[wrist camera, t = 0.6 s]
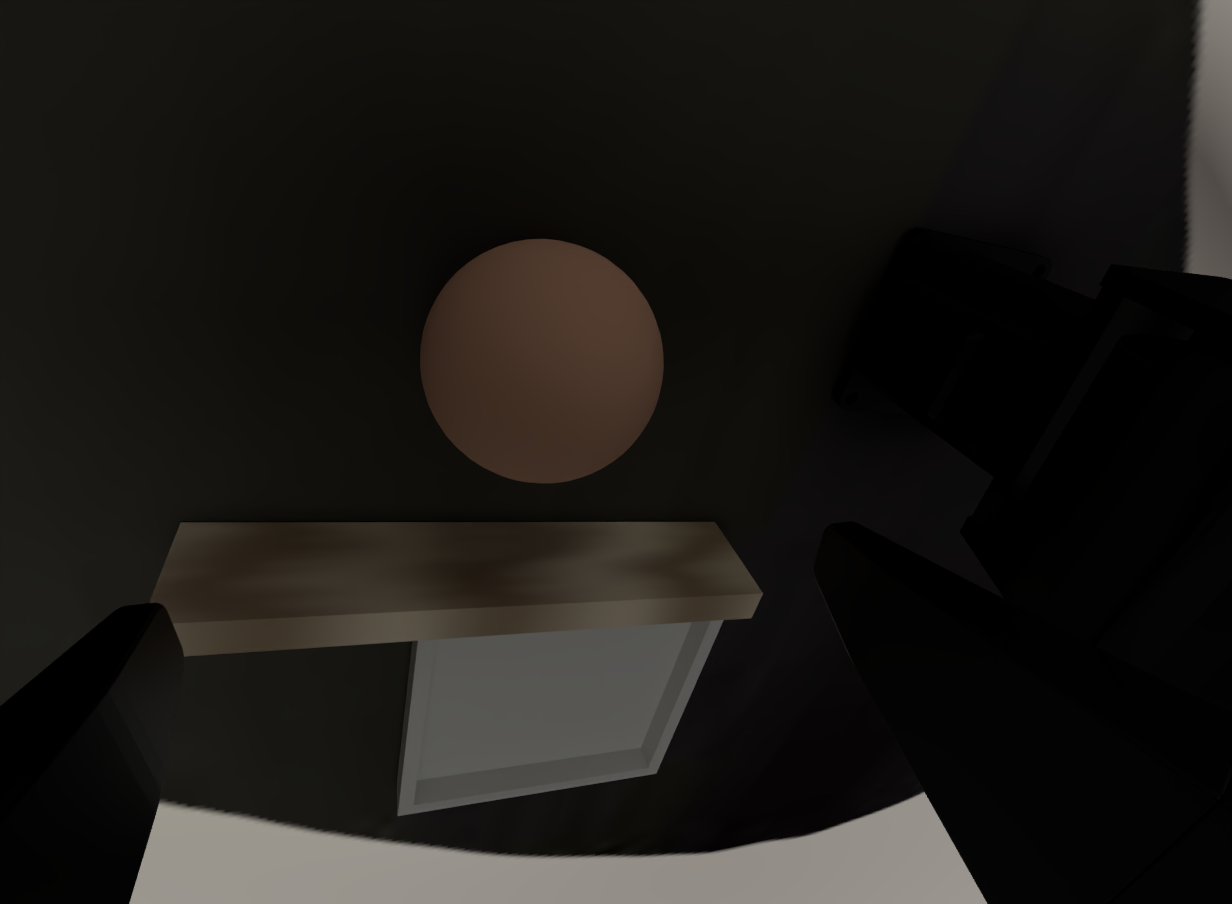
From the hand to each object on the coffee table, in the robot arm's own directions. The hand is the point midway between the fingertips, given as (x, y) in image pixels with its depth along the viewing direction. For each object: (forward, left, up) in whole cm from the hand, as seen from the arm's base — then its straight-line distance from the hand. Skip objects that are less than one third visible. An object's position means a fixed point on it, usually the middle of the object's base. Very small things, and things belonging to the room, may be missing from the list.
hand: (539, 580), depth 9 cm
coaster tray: (-6, +16, -11) cm, 21 cm away
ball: (-2, 0, -11) cm, 11 cm away
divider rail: (-2, +8, -11) cm, 14 cm away
